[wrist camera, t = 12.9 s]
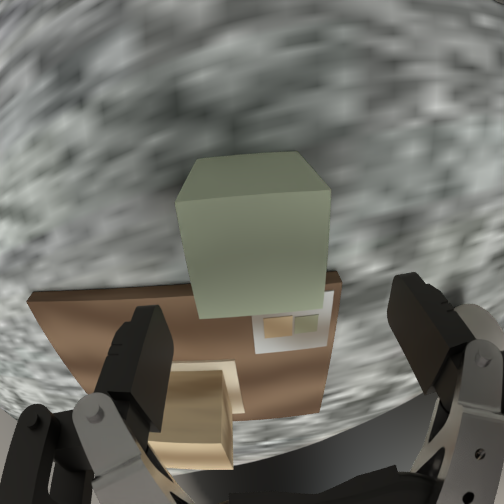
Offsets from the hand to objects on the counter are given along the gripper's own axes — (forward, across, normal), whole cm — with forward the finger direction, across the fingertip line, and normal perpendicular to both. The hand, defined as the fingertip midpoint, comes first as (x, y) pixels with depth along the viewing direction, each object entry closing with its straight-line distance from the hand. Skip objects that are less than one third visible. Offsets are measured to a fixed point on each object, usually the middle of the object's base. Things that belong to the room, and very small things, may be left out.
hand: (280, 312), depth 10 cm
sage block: (+8, 0, -1) cm, 8 cm away
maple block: (+6, +7, +14) cm, 17 cm away
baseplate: (+8, +7, +12) cm, 16 cm away
